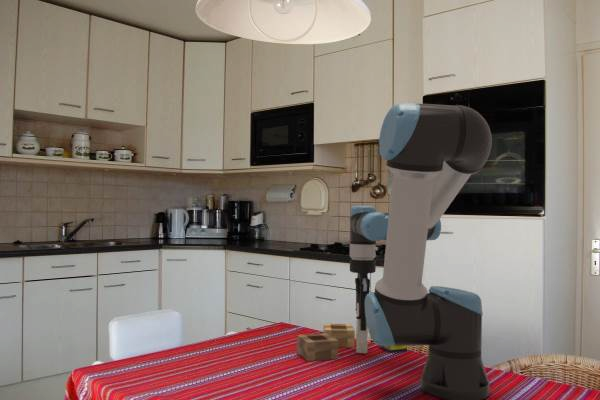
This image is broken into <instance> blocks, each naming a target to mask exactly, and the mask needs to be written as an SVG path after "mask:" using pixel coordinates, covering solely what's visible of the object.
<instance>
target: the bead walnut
mask: <svg viewBox="0 0 600 400" xmlns="http://www.w3.org/2000/svg"><path fill="white" fill-rule="evenodd" d="M296 353H297V355H299V356H300V357H302V358H303V359H304V360H306V361H307V362H316V361H327V360H328V361H329V360H337V359H339V347H338V340H337V339H335V338H333V337H332V336H330V335H328V334H327V333H323V332H322V333H309V334H296Z"/></svg>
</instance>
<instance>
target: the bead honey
mask: <svg viewBox="0 0 600 400" xmlns="http://www.w3.org/2000/svg"><path fill="white" fill-rule="evenodd" d="M322 333H327V334H328V335H330V336H332V337H333V338H335V339H337V340H338V348H355V338H356V337H355V334H356V331H355V328H354V326H353V324H352V323H323V331H322Z"/></svg>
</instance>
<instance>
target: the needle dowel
mask: <svg viewBox="0 0 600 400" xmlns="http://www.w3.org/2000/svg"><path fill="white" fill-rule="evenodd" d="M358 316H359V303H357V314H356V317H358ZM356 320H357V329H355V330H356V331H355V334H356V337H355V339H356V340H355V342H356V343H355V345H356V346H355V347H356V348H355V352H356V353H357V354H367V353H368V341H367V342H358V319H356ZM367 338H368V335H367Z"/></svg>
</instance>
